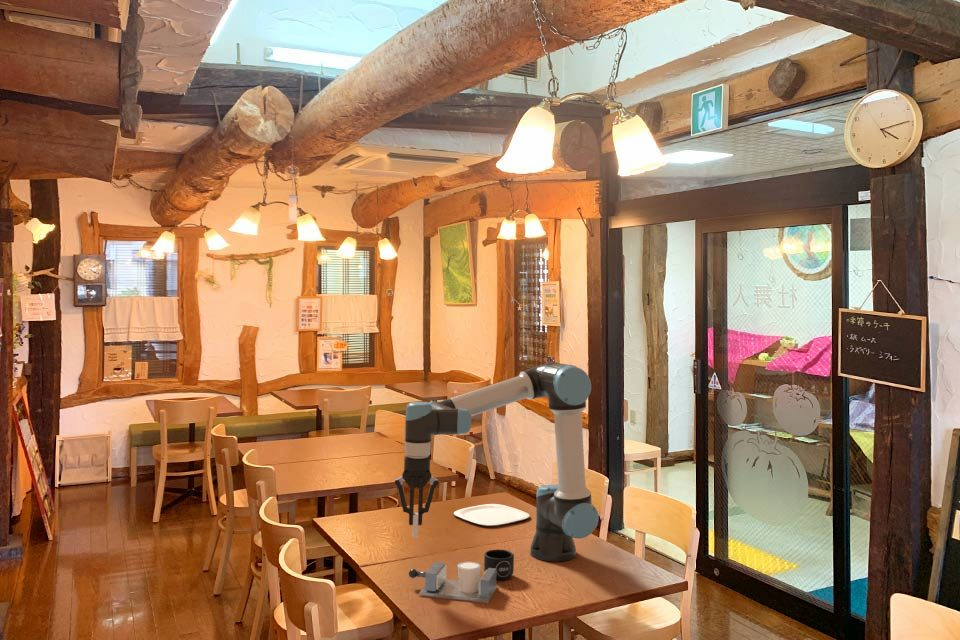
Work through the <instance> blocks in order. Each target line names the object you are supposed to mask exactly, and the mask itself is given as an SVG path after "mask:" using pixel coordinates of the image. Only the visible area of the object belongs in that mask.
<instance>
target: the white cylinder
mask: <svg viewBox="0 0 960 640" xmlns="http://www.w3.org/2000/svg"><path fill="white" fill-rule="evenodd" d="M481 566H482V565H481V564H480V563H479V562H475V561H463V562H459V563H458V564H457V580H458V581H459V590H460V591H461V592H465V593H474V592H477V591H478V588H479V580H480V578H481V569H482V567H481Z"/></svg>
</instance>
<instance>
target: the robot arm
mask: <svg viewBox="0 0 960 640" xmlns="http://www.w3.org/2000/svg"><path fill="white" fill-rule="evenodd" d="M591 392H592V381H591V378H590V377H589V375H588V374H587V372H585V370H583V369H582V368H580V367H578V366H576V365H573V364H566V363H560V362H555V361H553V362H547V363H546V362H545V363H543V364H540V365H537V366H535V367H531V368H528V369H526V370H523V371H520V373H519V374H518V375H517V376H515V377H511V378H508V379H506V380H502V381H499V382H497V383H493V384H489V385H487V386H484V387H481V388H478V389H475V390H471V391H469V392H466V393H462V394H459V395H457V396H453V397H450V398H447V399H443V400H441V401H437V400H436V401H428V402H425V401H413V402H412V401H411V402H410V403H407V405H406V409H405V417H404V420H405V425H404V427H405V428H404V429H405V430H404V432H405V433H404V435H405V436H404V437H405V439H404V455H405V456H404V464H403V465H404V466H403V472H402V475H401V476H399V477H396V478H395V479H394V483H395V484H394V485H396V487H397V488H398V489H397V490H398V494H399V496H400V497H399V498H400V502H401V508H402V511H403V512H404V513H406V514H408V524H409V526H412V538H419V537H418V536H419V535H418V534H419V526H422V525H423V515H424V514H425V513H428V512H429V511H430V507H431V503H432V500H433V497H434V496H433V495H434V493H435V489H436V488H437V486H438V484H439V479H438V478H436V477H434V476H432V472H431V457H430V455H431V450H432V449H431V448H432V443H431V441H432V436H436V435H437V436H440V435H443V436H444V435H457V436H459V435H463V434H468V433H469V432H470V430H471V427H472V417H474V416H477V415H480V414H483V413H486V412H489V411H492V410H495V409H498V408H501V407H504V406H507V405H510V404H514V403H516V402H519V401H521V400H522V401H523V400H525V399H527V400H529V401H531V400H534V399H539V398H548V399H547V400H548V410H550V411H551V413H553V419H554V420H553V421H554V434H555V437H554V438H555V450H556V451H555V452H556V453H555V454H556V467H557V471H556V472H557V481H558V482H557V484H544V485H541V486H538V487H537V489H536V497H535V499H536V501H535V502H536V506H535V507H536V510H535V512H536V513H535V514H536V515H535V524H536V525H535V533H534V535H533V538H532V542H531V543H530V550H529V552H530V555H531V556H532V557H533V558H535V559H538V560H541V561H545V562H546V561H547V562H567V561H570V560H573V559H574V558H576V556H577V548H576V544H575V542H574V541H575V540H574V539H576V540H577V539H584V538H585V539H586V537H589V536H590V535H591V534H593V532H594V531H595V529H596V528H597V526H598V524H599V519H600V518H599V512H598V510H597V508H596V507H595V506H594V505H593V504H592V502H593V501H592V492H591V490H590V489H589V488H587V486H586V470H585V466H586V465H585V454H584V453H585V451H584V434H583V433H584V432H583V420H582V419H583V416H582V413H583V412H584V411H585V409H586V408H587V403H586V401H587V400H588V397H590V395H591ZM404 482H405V483H406V485H407V486H408V487H409V507H408V505H407V501H406V500H407V499H406V495H405V491H404V486H403V484H404ZM428 482H429V484H430V486H429V490H428V492H427V497H426V501H425V504H424V503H423V502H424V498H423V497H424V487H425V486H426V485H427V484H428ZM416 488H417V489H418V499H417V500H418V501H417V502H418V505H417V506H418V508H417V512H414V505H415V503H414V502H415V489H416ZM423 505H424V507H423Z"/></svg>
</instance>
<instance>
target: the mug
mask: <svg viewBox="0 0 960 640" xmlns="http://www.w3.org/2000/svg"><path fill="white" fill-rule="evenodd" d="M483 555H484V561H483V562H484V563H483V565H484V566H483V573H484V572H485V571H486V570H487V569H488V568H496V581H505V580H507V579H509V578H510V579H511V577H512V575H513V574H514V570H515V569H514V562H515V560H514V559H515V556H514V555H515V554H514V553H513V552H512V551H510V550H507V549H491V550H488V551H487V550H486V551H485V552H484V554H483Z"/></svg>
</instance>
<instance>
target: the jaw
mask: <svg viewBox="0 0 960 640" xmlns="http://www.w3.org/2000/svg"><path fill="white" fill-rule="evenodd" d="M447 567H448V565H447V564H446V562H444V561H435V562H433V564H432V565H431V566H430V567H429V569H427V571H419V570H416V569H415V568H411V569H410V570H409V571H408V577H410V579H415V578H424V579H425V584H424V586H425V590H426V591H436V590H437V589H439V587H440V586H441V585H442V583H443V582H444V581H445V579H447V569H448V568H447Z"/></svg>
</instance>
